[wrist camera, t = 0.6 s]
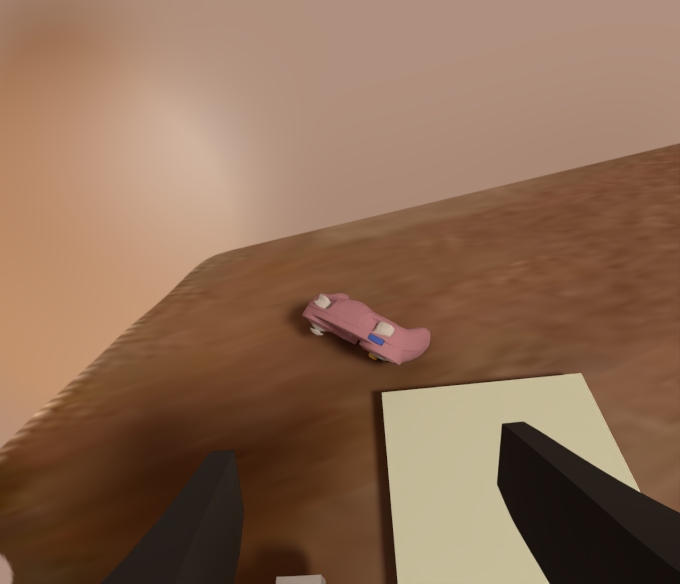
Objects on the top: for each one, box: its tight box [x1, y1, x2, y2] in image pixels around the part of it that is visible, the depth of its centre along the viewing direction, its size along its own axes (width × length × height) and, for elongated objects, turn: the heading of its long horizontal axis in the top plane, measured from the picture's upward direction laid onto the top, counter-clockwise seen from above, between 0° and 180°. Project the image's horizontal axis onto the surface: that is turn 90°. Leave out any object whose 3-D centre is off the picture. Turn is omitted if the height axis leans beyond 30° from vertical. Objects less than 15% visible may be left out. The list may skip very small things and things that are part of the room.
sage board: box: [382, 373, 640, 584], centre depth 26 cm, size 13×14×1 cm
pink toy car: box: [302, 293, 430, 365], centre depth 34 cm, size 10×5×7 cm, turn 52°
